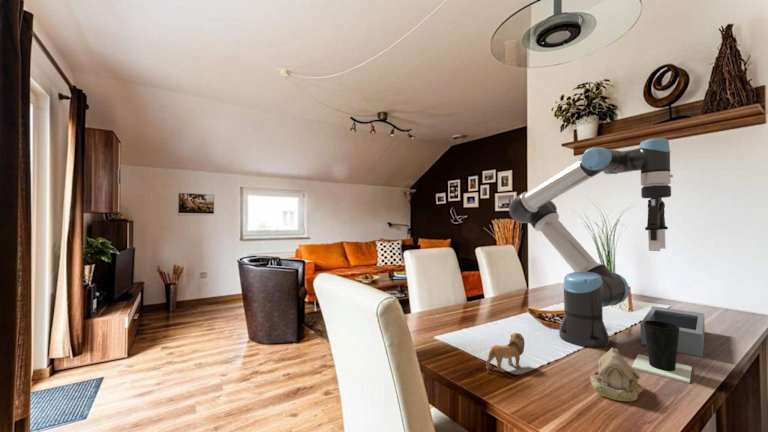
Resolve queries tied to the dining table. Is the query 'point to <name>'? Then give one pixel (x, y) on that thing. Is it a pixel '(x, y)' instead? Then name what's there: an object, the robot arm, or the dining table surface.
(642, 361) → the mat
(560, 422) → the dining table surface
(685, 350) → the slot box
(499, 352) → the lion figurine
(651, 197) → the robot arm
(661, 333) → the cup
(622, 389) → the ceramic model
